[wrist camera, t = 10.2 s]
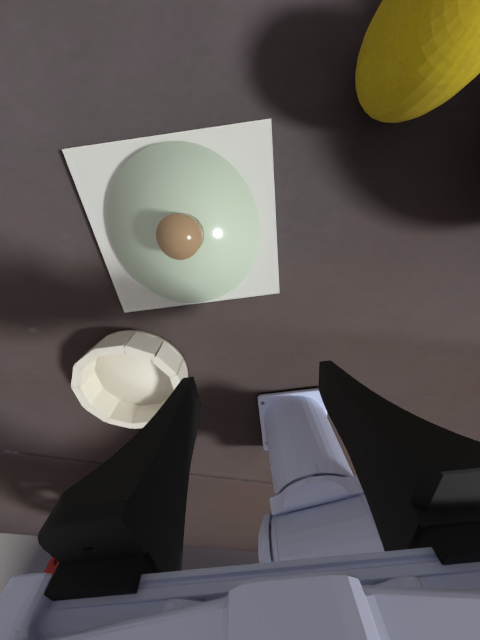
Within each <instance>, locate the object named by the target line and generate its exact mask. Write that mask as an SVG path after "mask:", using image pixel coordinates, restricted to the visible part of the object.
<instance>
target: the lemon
mask: <svg viewBox="0 0 480 640" xmlns="http://www.w3.org/2000/svg"><path fill="white" fill-rule="evenodd" d="M479 73H480V0H382V2H381V4H380V6H379V7H378V9H377V11H376V13H375V15H374V17H373V19H372V21H371V23H370V25H369V27H368V29H367V31H366V33H365V36H364V39H363V42H362V45H361V48H360V51H359V55H358V59H357V66H356V73H355V81H356V92H357V96H358V99H359V102H360V104H361V106H362V108H363V109H364V111H365V112H366V113H367V114H368V115H369V116H370V117H372V118H373V119H376V120H378V121H381V122H387V123H399V122H403V121H407V120H411V119H414V118H417V117H420V116H422V115H424V114H426V113H428V112H429V111H431V110H433V109H435V108H436V107H438V106H440V105H442V104H443V103H445V102H446V101H448V100H449V99H450V98H452V97H453V96H454V95H456V94H457V93H458V92H459V91H460V90H461V89H462V88H464V87H465V86H466V85H467V84H468V83H469V82H470V81H472V80H473V79H474V78H475V77H476V76H477V75H478V74H479Z"/></svg>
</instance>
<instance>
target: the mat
mask: <svg viewBox="0 0 480 640" xmlns="http://www.w3.org/2000/svg"><path fill="white" fill-rule="evenodd" d="M166 141H186V142H191V143H196V144H198V145H201V146H204V147H207V148H209V149H210V150H212V151H214V152H216V153H218V154H219V155H220V156H222V157H223V158H224V159H226V160H227V161H228V162H229V163H230V164H231V165H232V166H233V167H234V168H235V169H236V170H237V171H238V172H239V174H240V175H241V176H242V177H243V179H244V180H245V182H246V184H247V185H248V187H249V189H250V191H251V193H252V195H253V198H254V200H255V203H256V207H257V210H258V216H259V223H260V238H259V245H258V250H257V254H256V257H255V260H254V262H253V264H252V266H251V268H250V270H249V272H248V273H247V275H246V276H245V277H244V279H243V280H242V281H241V282H240V283H239V284H238V285H237V286H236V287H235V288H234V289H232V290H231V291H230V292H228V293H227V294H225V295H223V296H221V297H219V298H216V299H214V300H211V301H206V302H213V301H220V300H228V299H236V298H244V297H252V296H260V295H268V294H276V293H279V275H278V254H277V233H276V212H275V191H274V170H273V149H272V128H271V119H264V120H258V121H251V122H244V123H237V124H230V125H224V126H217V127H210V128H203V129H196V130H190V131H183V132H176V133H169V134H163V135H156V136H149V137H142V138H135V139H129V140H122V141H115V142H108V143H101V144H95V145H88V146H81V147H74V148H67V149H62V151H63V154H64V157H65V159H66V162H67V164H68V167H69V170H70V172H71V175H72V177H73V180H74V183H75V185H76V188H77V191H78V193H79V196H80V198H81V201H82V204H83V206H84V209H85V211H86V214H87V217H88V219H89V222H90V224H91V227H92V230H93V232H94V235H95V237H96V240H97V243H98V245H99V248H100V250H101V253H102V256H103V258H104V261H105V263H106V266H107V269H108V271H109V274H110V276H111V279H112V282H113V284H114V287H115V289H116V292H117V295H118V297H119V300H120V302H121V305H122V308H123V310H124V313H125V312H133V311H141V310H149V309H157V308H165V307H173V306H181V305H189V304H197V303H183V302H177V301H173V300H169V299H167V298H164V297H161V296H159V295H157V294H155V293H154V292H152V291H150V290H149V289H147V288H146V287H144V286H143V285H142V284H141V283H140V282H138V281H137V280H136V279H135V278H134V277H133V276H132V275H131V274H130V272H129V271H128V270H127V268H126V267H125V266H124V264H123V263H122V261H121V259H120V258H119V256H118V254H117V252H116V250H115V248H114V245H113V242H112V239H111V235H110V231H109V226H108V202H109V196H110V192H111V189H112V186H113V183H114V181H115V179H116V177H117V175H118V173H119V171H120V170H121V169H122V167H123V166H124V164H125V163H126V162H127V161H128V160H129V159H130V158H131V157H132V156H134V155H135V154H136V153H138V152H139V151H141V150H142V149H144V148H146V147H148V146H150V145H153V144H157V143H160V142H166ZM200 303H205V302H200Z"/></svg>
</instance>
